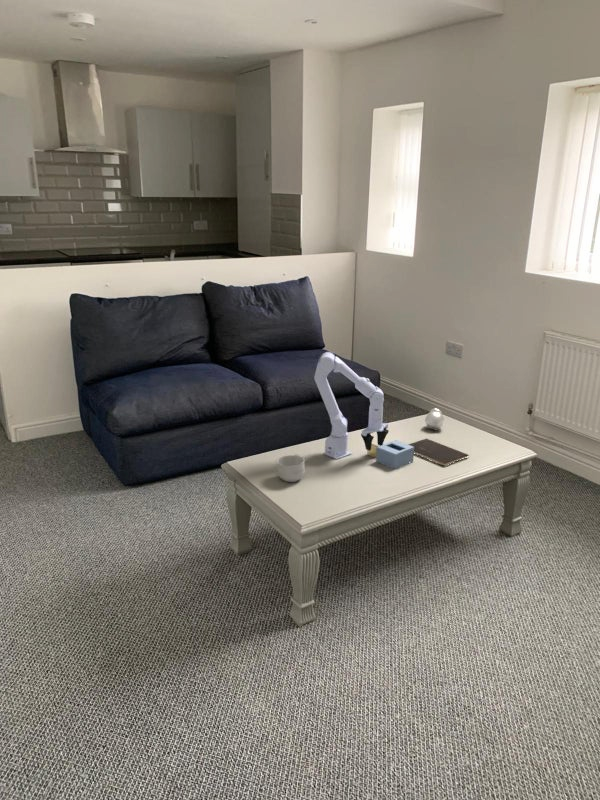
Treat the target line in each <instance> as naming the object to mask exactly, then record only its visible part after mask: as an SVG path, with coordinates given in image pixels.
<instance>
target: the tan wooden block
mask: <svg viewBox="0 0 600 800" xmlns="http://www.w3.org/2000/svg"><path fill="white" fill-rule="evenodd" d="M378 446H379V445H378V444H374V443H372V444H371V450H370V451H369V450H366V451H367V452H366V455H367V456H370V457H372V458H376V456H377V447H378Z"/></svg>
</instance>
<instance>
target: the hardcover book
mask: <svg viewBox="0 0 600 800" xmlns="http://www.w3.org/2000/svg"><path fill="white" fill-rule="evenodd" d="M408 445H410V446H413V447H414V453H415V454H418V455H420V456H423V457H425V458H428V459H430V460H432V461H434V462H437V463H439V464H442V465H444V466H445V465H447V466H449V465H448V464H450V463H453V462H455V461H457V460H460V459H462V458H465V457H467V456H469V454H468V453H466V452H462V451H460V450H457V449H456V448H455V449H454V448H452V447H449V446H447V445H444V444H442V443H441V442H436V441H434V440H431V439H429V438H424V439H421V440H417V441H415V442H412V443H409V444H408ZM415 454H414V455H415ZM418 455H417V456H418ZM420 456H419V457H420ZM425 458H424V459H425ZM430 460H429V461H430ZM432 461H431V462H432ZM434 462H433V463H434ZM437 463H436V464H437ZM455 463H456V462H455ZM439 464H438V465H439ZM453 464H454V463H453ZM442 465H441V466H442ZM450 465H451V464H450ZM444 466H443V467H444ZM445 467H446V466H445Z"/></svg>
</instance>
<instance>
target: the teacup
mask: <svg viewBox="0 0 600 800" xmlns="http://www.w3.org/2000/svg"><path fill="white" fill-rule="evenodd" d="M276 465H277V468H276V469H277V474H278V477H279V478H280V479H281V480H283V481H284V482H287V483H288V482H289V483H295V482H297V481H299V480H300V479H302V478H303V477H304V475H305V471H306V470H305V469H306V468H305V467H306V466H305V458H304V457H303V456H300V454H298V453H295V454H294V455H293V454H291V455H290V454H289V455H284V456H281V457H279V458H278V459H277V460H276Z"/></svg>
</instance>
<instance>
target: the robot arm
mask: <svg viewBox="0 0 600 800" xmlns="http://www.w3.org/2000/svg"><path fill="white" fill-rule="evenodd" d="M332 371H333V373H341V374H342V375H343V376H345V377H346V378H347V379H349V380H350V381H351V382H352V383H353V384H354V387H355V389H356V390H357V391H358V392H360V393H361V394H362V395H363V396H364V397H366V398H368V399H369V403H370V404H369V409H368V424H367V425H368V426H367V427H366V428H365V429H363V430H361V433H360V436H361V438H362V439H363V442H364V446H365V450H366V451H367V450H369V451H370V450H371V444H373V440H374V437H375V436H373V435H371V434H373V433H376V437H377V439H376V440H377V442H376V443H377V446H381V445H384V442H385V439H386V437H387V435H388V434H389V424H388V423H386V422H383V417H384V416H383V415H384V414H383V413H384V401H385V399H384V398H385V397H384V392H383V390H382V389H381V388H380V387H378V386H377V385H376V386H375V385H374V384H373V383H372V382H371V381H370V379H369V378H368V377H367V378H366V377H364V376H359V375H358V374H357V373H356V371H355V372H354V370H353V369H351V368H350V367H349V366H348V365H347V364H346V362H344V361H343V360H342V359H340V357H338V356H335V354H334V353H332V352H331V351H326V352H324V353H322V354H321V355H320V357H319V359H318V361H317V364H316V369H315V371H314V372H315V373H314V377H313V379H314V381H315V384H316V386H317V389H318V391H319V394H320V396H321V399H322V401H323V403H324V406H325V408H326V411H327V413H328V416H329V421H330V424H331V431H330V435H329V436H328V437H326V439H325V440H324V441H325V442H324V452H323V455H325V456H328V457H330V458H333V459H335V460H338V459H341V458H343V457H347V456H349V455H352V452H351V451H349V450H348V445H349V444H348V442H349V432H348V419H347V418H346V417H345V416H344V415H343V413H342V411H341V410H340V408H339V405H338V403H337V401H336V397H335V394H334V393H333V391H332V388H331V386H330V383H329V380H328V378H327V377H328V376H329V374H330V373H331V372H332Z"/></svg>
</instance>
